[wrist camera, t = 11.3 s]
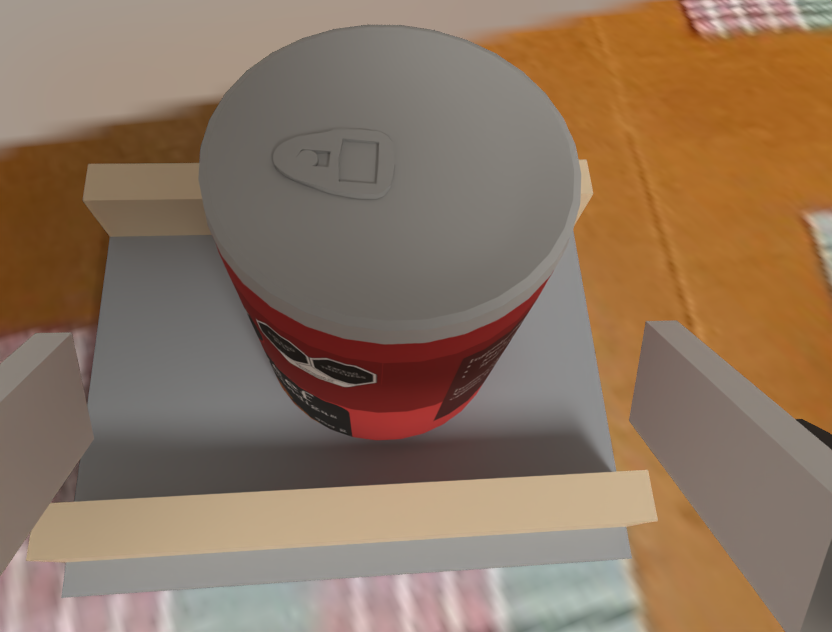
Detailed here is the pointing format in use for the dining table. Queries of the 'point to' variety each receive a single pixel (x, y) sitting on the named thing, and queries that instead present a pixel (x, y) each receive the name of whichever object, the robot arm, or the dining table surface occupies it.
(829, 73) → the dining table surface
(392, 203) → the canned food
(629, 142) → the dining table surface
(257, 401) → the track
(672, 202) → the dining table surface
